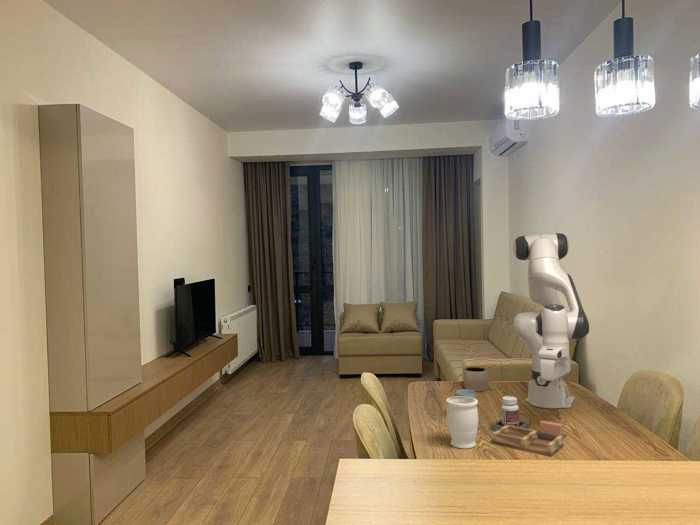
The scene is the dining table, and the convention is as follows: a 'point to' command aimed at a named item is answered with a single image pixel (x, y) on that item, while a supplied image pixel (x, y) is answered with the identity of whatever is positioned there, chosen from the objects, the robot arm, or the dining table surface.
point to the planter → (475, 379)
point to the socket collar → (498, 425)
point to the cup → (465, 393)
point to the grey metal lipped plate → (548, 436)
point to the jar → (462, 421)
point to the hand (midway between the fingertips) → (557, 389)
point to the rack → (526, 440)
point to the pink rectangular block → (551, 428)
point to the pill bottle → (510, 411)
